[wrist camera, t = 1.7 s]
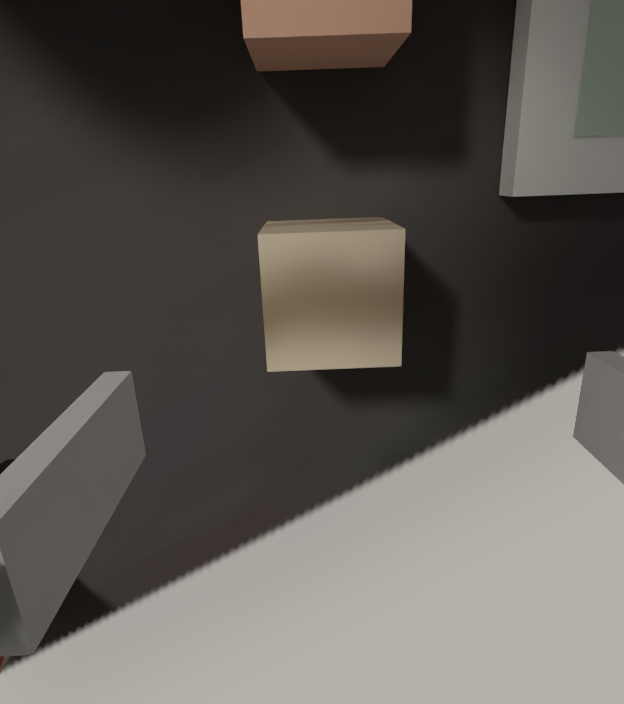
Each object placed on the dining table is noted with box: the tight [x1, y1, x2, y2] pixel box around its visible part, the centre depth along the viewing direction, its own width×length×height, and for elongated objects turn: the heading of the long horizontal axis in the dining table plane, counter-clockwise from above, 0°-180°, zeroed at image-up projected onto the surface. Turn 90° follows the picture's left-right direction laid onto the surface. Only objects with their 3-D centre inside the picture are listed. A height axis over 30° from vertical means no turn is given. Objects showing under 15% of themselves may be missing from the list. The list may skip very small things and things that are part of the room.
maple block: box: [258, 217, 405, 372], centre depth 28 cm, size 7×7×7 cm
